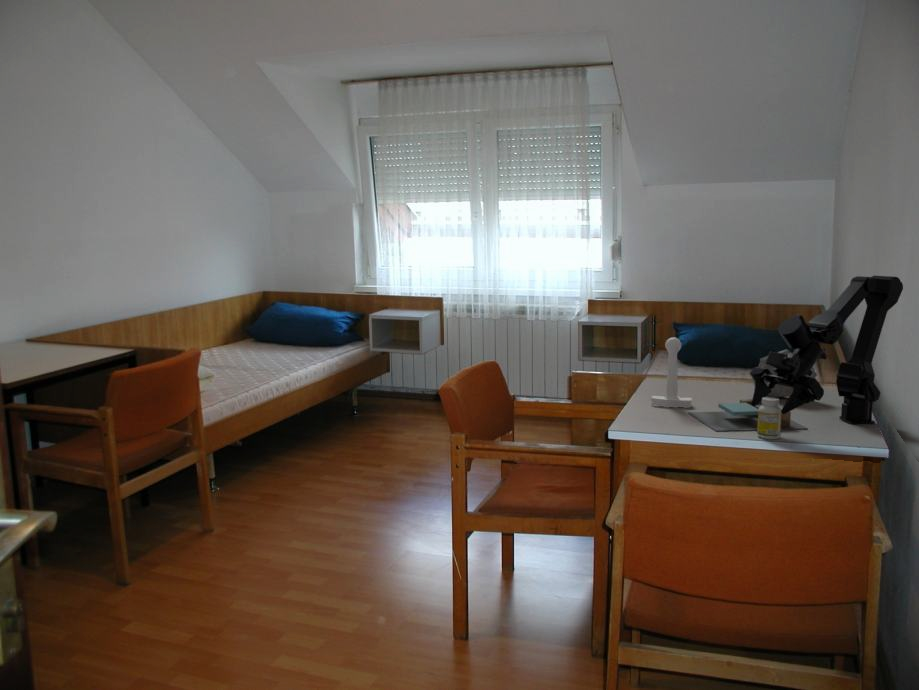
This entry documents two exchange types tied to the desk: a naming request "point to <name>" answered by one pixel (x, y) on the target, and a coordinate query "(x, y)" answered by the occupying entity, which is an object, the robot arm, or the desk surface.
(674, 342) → the joystick
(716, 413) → the dark grey flat mat
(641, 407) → the desk surface
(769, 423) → the supplement bottle
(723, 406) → the trapdoor
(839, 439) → the desk surface
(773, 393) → the fossil
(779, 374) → the robot arm
